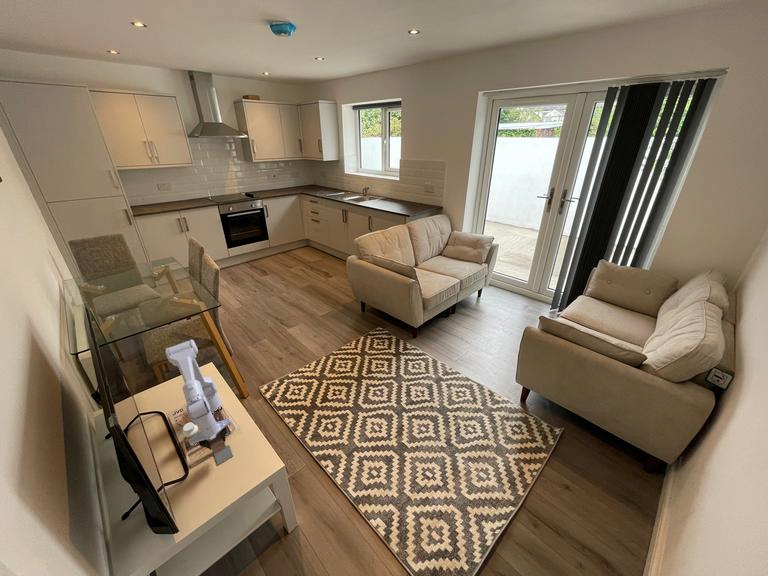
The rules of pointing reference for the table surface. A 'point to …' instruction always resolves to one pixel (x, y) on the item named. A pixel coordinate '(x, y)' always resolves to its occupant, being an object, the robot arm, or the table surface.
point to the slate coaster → (223, 455)
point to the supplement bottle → (190, 431)
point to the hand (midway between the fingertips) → (217, 443)
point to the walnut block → (217, 443)
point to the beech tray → (196, 460)
